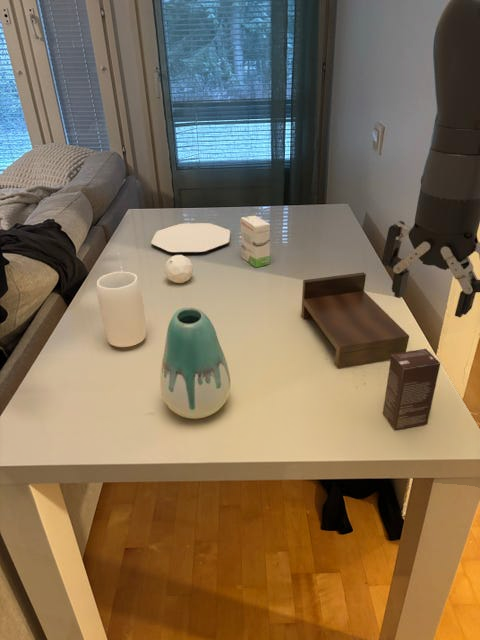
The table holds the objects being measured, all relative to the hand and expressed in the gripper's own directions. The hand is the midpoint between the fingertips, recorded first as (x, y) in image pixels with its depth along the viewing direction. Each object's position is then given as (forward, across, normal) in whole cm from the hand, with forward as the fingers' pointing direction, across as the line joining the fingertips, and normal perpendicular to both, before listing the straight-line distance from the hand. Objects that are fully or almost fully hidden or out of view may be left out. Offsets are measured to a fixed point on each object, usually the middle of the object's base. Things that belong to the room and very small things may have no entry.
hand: (428, 304), depth 65 cm
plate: (+21, +84, -32) cm, 92 cm away
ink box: (+21, +59, -33) cm, 71 cm away
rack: (+21, +19, -16) cm, 33 cm away
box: (+21, 0, 0) cm, 21 cm away
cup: (+21, +53, +15) cm, 59 cm away
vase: (+21, +28, +19) cm, 40 cm away
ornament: (+21, +66, -11) cm, 70 cm away
